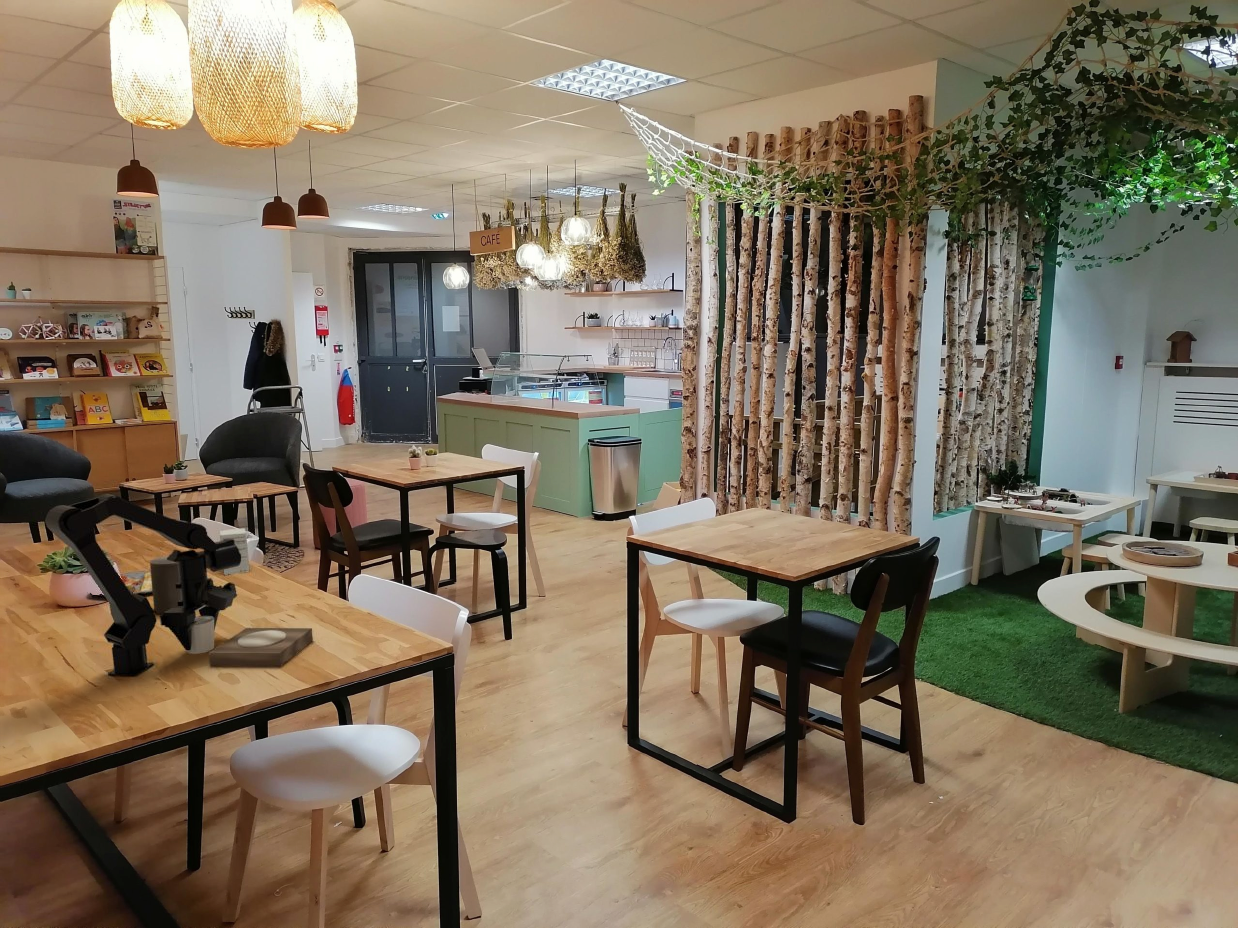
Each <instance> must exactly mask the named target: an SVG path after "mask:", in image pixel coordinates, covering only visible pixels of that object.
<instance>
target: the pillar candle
mask: <svg viewBox="0 0 1238 928" xmlns="http://www.w3.org/2000/svg"><path fill="white" fill-rule="evenodd" d="M168 556H169V555H167V556H161V557H157V558H153V559H151V560H150V562H149V566H150V570H151V581H152V598H153V599H152V601H153V610H155V611H157V613H155V615H160V616H161V615H162V614H163V613H164V612H166V611H167V610H169V609H171V608H184V606H178V603H177V602H178V601H180V600H181V591H180V588H176V584H177V583H179V582H180V581H179V571H178V562H172V561H168V560H167V557H168Z"/></svg>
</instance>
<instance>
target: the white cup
mask: <svg viewBox="0 0 1238 928" xmlns="http://www.w3.org/2000/svg"><path fill="white" fill-rule="evenodd" d="M194 621H197V622H196V623H195V624H194V626H193V627H192V644H191V650H186V652H187V654H192V655H195V654H196V655H197V654H203V653H207V652H208V653H209V652H211V651H212V650H214V649H215V631H214V617H212V616H200V615H199V616H198V615H196V617H195V620H194Z"/></svg>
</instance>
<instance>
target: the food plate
mask: <svg viewBox="0 0 1238 928" xmlns="http://www.w3.org/2000/svg"><path fill="white" fill-rule="evenodd" d="M121 578H122V581H123V582H124V584H125V585H126V587H127V588H128V590H129V591H130V593H131V594H132V595H133V594H136V595H139V594H140V595H143V594H144V595H147V594H150V593H152V581H151V569H150V570H138V571H131V572H127V573H121ZM137 584H138V585H137ZM139 584H140V585H139ZM136 590H137V591H138V592H136ZM134 591H135V592H134ZM139 591H140V592H139ZM133 592H134V593H133ZM152 594H153V593H152Z"/></svg>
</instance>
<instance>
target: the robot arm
mask: <svg viewBox="0 0 1238 928" xmlns="http://www.w3.org/2000/svg"><path fill="white" fill-rule="evenodd" d="M112 516H114V517H116V518H118V519H119V518H120V519H122V520H124V521H127V522H129V523H131V524H132V523H133V524H134V525H137V526H140V527H143V528H146V529H148V530H151V531H152V532H156V533H157V534H159V535H160V536H161V537H162V538H164V539H165V540H167V541H168V542H170V543H172V544H173V545H175V546H176V547H177V546H178V547H181V548H185V549H188V550H185V551H181V550H179V549H173V551H172V553H171V554H168V555H167V556H168V557H167V560H168V561H172V562H178V571H179V581H180V582H179V583H177V584H176V588H180V591H181V600H180V601H178V602H177V603H178V606H184V608H171V609H169V610H167V611H166V612H164V613H163V614H162V615H160V616H159V620H160V621H159V622H160V625H161V626H163V627H165V628H168V629H169V631H170V632H171V633H172V634H173V635H174V636H175V637H176V639H177V640H178V641H179V643H180V644H181V646H182V647H183V648H184V650H186V651H187V650H191V644H192V627H193V626H194V624H195V623H196V622H197V621H194V620H195V617H197V613H196V612H197V611H198V612H199V616H212V617H214V632H215V630H216V626H217V622H218V619H219V614H220V612H221V611H225V610H226V609H227V608H230V607H232V606H233V603H234V602H233V601H234V599H235V598H237V597H238V594H237V587H236V585H235V583H233V582H227V583H225V584H224V585H223V586H222V585H219V586H217V585H214V580H213V578H211V577H208V571H207V569H208V570H209V571H211V572H212V573H217V572H219V571H224V570H225V569H229V568H233V567H237V566H239V565H240V563H241V553H240V552H239V549H238V548H237V546H236V545H235V541H234V539H225V540H223V541H217V542H216V541H214V540H213V539H212V538H211V537H210V536H209V535H208V531H207V528H206V527H205V526H204V525H202V524H200V523H195V522H190V521H186V520H180V519H176V518H170V517H168V516H165V515H163V514H160V513H158V512H156V511H153V510H151V509H149V508H145V507H143V506H141V505H137V504H136V503H133V502H130V501H128V500H126V499H123V498H122V497H121V496H118V495H116V494H115V495H114V494H109V493H106V494H102V495H100V496H97V497H95V498H91V499H87V500H83V501H80V502H76V503H73V504H70V505H64V504H62V505H61V504H60V505H57V506H54V507H52V508H51V509H49V511H48V513H47V514H46V517H45V520H44V521H45V524H46V528H47V529H49V531H51V532H52V534H54V535H55V536H56V537H57V539H59V541H62V542H63V543H64V544H65V545H66V546H68V548H70V549H71V550H72V551H73V553H75V555H76V556H77V558H78V559H79V561H80V562H81V564H82V565H83V567H84V568H85V569H86V571H87V572H88V574H89V575H90V577H91V578H92V580H93V581H94V583H96V584H97V585H98V587H99V588H100V590H101V591H102V593H103V594H104V596H103V597H105V598H106V600H107V602H108V604H109V611H110V615H111V618H112V620H113V622H112V624H111V625H110V626H109V627H108V629H106V631H105V633H104V634H103V635H104V638H105V639H106V642H107V643H110V644H112V647H111V655H112V662H113V663H112V665H113V670H111V671H109V672H107V676H108V677H109V676H111V677H112V676H113V677H114V676H117V677H118V676H119V677H121V676H122V677H126V676H127V677H128V676H129V677H131V676H132V677H134V676H135V677H136V676H138V675H140V674H141V673H143V672H145V671H147V670H148V669H150V668H151V667H152V666H154V664H155V663H154V661H153V662H148V654H147V647H146V645H148V644H149V643H150V639H151V636H152V635H151V634H152V632H153V630H154V629H155V627H156V624H157V622H158V621H157V617H156V613H157V611H155V610H154V608H153V607H152V605H151V604H150V603H151V602H150V601H149V599H148V598H147V597H145V596H143V595H141V594H140V595H136V594H133V595H132V594H131V593H130V591H129V590H128V588H127V587H126V585H125V584H124V582H123V581H122V579H121V578H120V576H119V575H118V574H119V572H118V571H117V570H116V569H115V567H114V566H113V564H112V563H111V561H110V560H109V558H108V557H107V555H106V554H105V552H104V551H103V549H102V548H101V546H100V545H99V544H98V541H97V538H96V537H97V536H96V530H95V529H96V528H95V527H94V526H96V525H98V524H100V523H103V522H104V521H105V520H107V519H109V518H110V517H112ZM199 549H200V550H201V551H196V550H199Z"/></svg>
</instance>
